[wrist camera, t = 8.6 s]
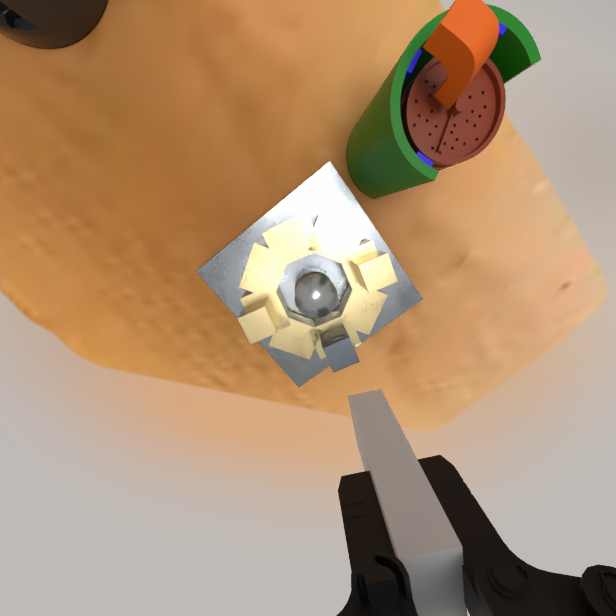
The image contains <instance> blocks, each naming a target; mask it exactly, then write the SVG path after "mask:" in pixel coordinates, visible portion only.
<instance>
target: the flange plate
mask: <svg viewBox="0 0 616 616" xmlns="http://www.w3.org/2000/svg"><path fill="white" fill-rule="evenodd" d="M306 213H307V214H308V216H309V219H310V221H311V223H312V226H313V225H314V222H315V220H316V217H317V215H318V214H319V213H321V214H324V215H326V216H328V217H331V218H333V219H336V220H338V221H340V222H343V223H345V224H348V225H350V226H352V227H355V228H357V229H359V230H362V231H364V234H363V236H362V239H361V241H363V240H366V239H368V240H373V242H374V245H375V248H376V250H379V251H382V252H386V253H388V255H389V258H390V261H391V264H392V267H393V269H394V272H395V275H396V278H397V281H398V282H395V283H393V284H391V285H388V286H386V287H384V288H381V289H380V290H382V291H383V292H385V293H386V294H387V295H388V296H387V298H386V300H385V302H384V304H383V306H382V308H381V311H380V313H379V315H378V317H377V319H376V321H375V323H374V325H373V328H372V330H371V332H370V334H369V335H368V334H365V333H362V332H359V331H357V330H356V332H357V334H358V337H359V339H360V342H361V343H359V344H356V345H354V346H353V347H354V348H355V347H357V346H359V345H360V344H362V342H363V341H365V340H366V339H368V338H369V337H370V336H372V335H373V334H375V333H376V332H377V331H379V330H380V329H382V328H383V327H384V326H386V325H387V324H389V323H390V322H391V321H393V320H394V319H396V318H397V317H398V316H400V315H401V314H403V313H404V312H406V311H407V310H408V309H410V308H411V307H413V306H414V305H415V304H417V303H418V302H420V301H421V300H422V299H423V298H422V296H421V295H420V294H419V292H418V291H417V289H416V288H415V286H414V285H413V283H412V282H411V280H410V279H409V277H408V276H407V274H406V273H405V271H404V270H403V268H402V267H401V265H400V264H399V262H398V261H397V259H396V258H395V257H394V255H393V254H392V252H391V251H390V249H389V248H388V246H387V245H386V243H385V242H384V240H383V239H382V237H381V236H380V234H379V233H378V231H377V230H376V228H375V227H374V225H373V224H372V223H371V221H370V220H369V218H368V217H367V215H366V214H365V212H364V211H363V209H362V208H361V206H360V205H359V203H358V202H357V200H356V199H355V197H354V196H353V194H352V193H351V191H350V190H349V189H348V187H347V186H346V184H345V183H344V181H343V180H342V178H341V177H340V175H339V174H338V172H337V171H336V169H335V168H334V166H333V165H332V163H331V162H330V161H329V162H328V163H327V164H326V165H324V166H323V167H322V168H321V169H320V170H318V171H317V172H316V173H315V174H314V175H312V176H311V177H310V178H309V179H307V180H306V181H305V182H304V183H303V184H301V185H300V186H299V187H298V188H297V189H295V190H294V191H293V192H292V193H290V194H289V195H288V196H287V197H286V198H284V199H283V200H282V201H281V202H280V203H278V204H277V205H276V206H275V207H274V208H272V209H271V210H270V211H269V212H267V213H266V214H265V215H264V216H263V217H261V218H260V219H259V220H258V221H257V222H255V223H254V224H253V225H252V226H250V227H249V228H248V229H247V230H246V231H244V232H243V233H242V234H241V235H240V236H238V237H237V238H236V239H235V240H233V241H232V242H231V243H230V244H229V245H227V246H226V247H225V248H224V249H223V250H221V251H220V252H219V253H218V254H216V255H215V256H214V257H213V258H212V259H210V260H209V261H208V262H207V263H206V264H204V265H203V266H202V267H201V268H200V269H198V270H197V271H196V272H197V273H198V274H199V275H200V276H201V277H202V279H203V280H204V281H205V282H206V283H207V284H208V285H209V287H210V288H211V289H212V290H213V291H214V292H215V293H216V294H217V296H218V297H219V298H220V299H221V300H222V301H223V302H224V303H225V305H226V306H227V307H228V308H229V309H230V310H231V311H232V312H233V314H234V315H235V316H236V317H237V318H238V317H239V315H240V314H241V312H242V310H243V309H244V306H243V304H242V302H241V300H240V298H241V297H242V296H243V294H244V293H246V292H248V290H245V289H242V288H239V286H240V283H241V280H242V277H243V274H244V271H245V268H246V265H247V262H248V259H249V256H250V253H251V250H252V247H253V245H254V243H255V242H257V241H258V242H261V243H263V244H266V245H267V242H266V240H265V238H264V236H263V234H262V233H265V232H267V231H269V229H271V228H273V227H275V226H277V225H280V224H282V223H284V222H286V221H288V220H291V219H293V218H295V217H297V216H298V217H300V216H302V215H304V214H306ZM361 241H360V242H361ZM347 287H348V284H347V281H346V279H345V276H344V274H343V271H342V269H341V266H340V264H339V262H337V261H335V260H332V259H330V258H327V257H325V256H322V255H320V254H317V253H315V252H313V253H311V254H309V255H307V256H304V257H302V258H300V259H298V260H295V261H293V262H291V263H289V264H286V266H285V269H284V272H283V274H282V277H281V280H280V282H279V285H278V289H279V291H280V293H281V295H282V297H283V300H284V302H285V304H286V306H287V308H288V310H289V311H291V312H294V313H296V314H299V315H302V316H305V317H307V318H310V319H313V320H314V319H316V318H322V317H325V316H327V315H328V314H330V313H331V312H333V311H335V310H337V309H338V307H339V305H340V303H341V300H342V298H343V296H344V294H345V291H346V289H347ZM270 338H271V336H269V337H267V338H264V339H262V340H260V341H258V342H259V343H260V344H261V345H262V346H263V347H264V349H265V350H266V351H267V352H268V353H269V354H270V355H271V356H272V358H273V359H274V360H275V361H276V362H277V363H278V364H279V365H280V367H281V368H282V369H283V370H284V371H285V372H286V373H287V374H288V376H289V377H290V378H291V379H292V380H293V381H294V382H295V384H296V385H297V386H298V387H300V386H301V385H303V384H304V383H306V382H307V381H308V380H310V379H311V378H313V377H314V376H315V375H317V374H318V373H320V372H321V371H322V370H324V369H325V368H327V367H328V366H330V364H329V362H328V359H327V357H325V358H323V359H320V357H319V354H318V352H317V350H316V348H315V349H314V351H313V353H312V356H311V358H310V360H309V359H306V358H303V357H301V356H298V355H295V354H292V353H289V352H286V351H283V350H280V349H277V348H274V347H272V346H269V342H270Z"/></svg>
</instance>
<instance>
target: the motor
mask: <svg viewBox="0 0 616 616" xmlns="http://www.w3.org/2000/svg"><path fill="white" fill-rule="evenodd" d="M539 60H541V57H540V54H539V51H538V48H537V46H536V43H535V42H534V40H533V37H532V36H531V34H530V33H529V31H528V30H527V28H526V27H525V26H524V25H523V24H522V23H521V22H520V21H519V20H518V19H517V18H516V17H515V16H513V15H512V14H510V13H509V12H507V11H505V10H503V9H501V8H499V7H496V6H492V5H487V4H485V3H484V2H482V1H481V0H456V1H455V2H454V3H453V5H452V6H451V8H450V9H449V10H447V11H445V12H443V13H441V14H440V15H438V16H436V17H435V18H433V19H432V20H431V21H430V22H428V23H427V24H426V25H425V26H424V27H423V28H422V29H421V30H420V31H419V32H418V33H417V34H416V35H415V37H414V38H413V39H412V41H411V42H410V43H409V45H408V46H407V48H406V49H405V51H404V53H403V54H402V56H401V57H400V59H399V60H398V62H397V63H396V65H395V66H394V68H393V69H392V71H391V72H390V74H389V75H388V77H387V78H386V80H385V81H384V83H383V85H382V86H381V88H380V89H379V91H378V92H377V94H376V95H375V97H374V98H373V100H372V101H371V103H370V104H369V106H368V107H367V109H366V110H365V112H364V114H363V115H362V117H361V118H360V120H359V121H358V123H357V124H356V126H355V127H354V129H353V131H352V133H351V135H350V138H349V141H348V146H347V166H348V170H349V173H350V176H351V178H352V180H353V182H354V183H355V185H356V186H357V187H358V188H359V189H360V190H361V191H362V192H363V193H364V194H366V195H367V196H369V197H371V198H373V199H375V198H378V197H381V196H385V195H388V194H391V193H395V192H398V191H401V190H404V189H408V188H411V187H414V186H418V185H421V184H424V183H427V182H431V181H434V180H435V178H436V176H437V174H438V172H439V170H441V169H444V168H447V167H450V166H452V165H455V164H458V163H461V162H464V161H466V160H469V159H471V158H473V157H474V156H476V155H477V154H479V153H480V152H481V151H483V150H484V149H485V148H486V147H487V146H488V144H489V143H490V142H491V141H492V139H493V138H494V136H495V135H496V133H497V131H498V129H499V127H500V125H501V122H502V119H503V115H504V110H505V88H504V84H505V83H506V82H508V81H509V80H511V79H512V78H514V77H515V76H517V75H518V74H520V73H521V72H523V71H524V70H526V69H528V68H529V67H530V66H532V65H534V64H535V63H536V62H538V61H539Z"/></svg>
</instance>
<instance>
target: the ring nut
mask: <svg viewBox="0 0 616 616" xmlns="http://www.w3.org/2000/svg"><path fill="white" fill-rule="evenodd" d="M262 234H263V236H264V238H265V240H266V242H267V245H266V244H263V243H261V242H258V241H257V242H255V243H254V245H253V247H252V250H251V253H250V256H249V259H248V262H247V265H246V268H245V271H244V274H243V277H242V280H241V283H240V286H239V288H242V289H245V290H248V292H246V293H244V294H243V296H242V297H241V298H240V300H241V302H242V304H243V306H244V309H243V310H242V312H241V314H240V315H239V317H238V318H237V319H238V321H239V323H240V325H241V327H242V328H243V330H244V332H245V334H246V336H247V338H248V340H249V342H250V344H252V343H255V342H257V341H260V340H262V339H264V338H267V337H269V336H271V338H270V342H269V346H272V347H274V348H277V349H280V350H283V351H286V352H289V353H292V354H295V355H298V356H301V357H303V358H306V359H309V360H310V358H311V356H312V353H313V351H314V349H315V348H316V350H317V352H318V354H319V357H320V359H323V358H325V357H327V359H328V362H329V364H330V366H331V368H332V370H333V372H336V371H338V370H341V369H343V368H346V367H348V366H350V365H353V364H355V363H358V362H360V361H359V359H358V357H357V354H356V352H355V349H354V347H353V346H354V345H356V344H359V343H361V342H360V339H359V337H358V334H357V332H356V330H357V331H359V332H362V333H365V334H368V335H369V334H370V332H371V330H372V328H373V325H374V323H375V321H376V319H377V317H378V315H379V313H380V311H381V308H382V306H383V304H384V302H385V300H386V298H387V296H388V295H387V294H386V293H385V292H383V291H382V290H380V289H381V288H384V287H386V286H388V285H391V284H393V283H395V282H398V281H397V278H396V275H395V272H394V269H393V267H392V264H391V261H390V258H389V255H388V253H386V252H382V251H379V250H376V248H375V245H374V242H373V240H368V239H366V240H363V241H361V239H362V236H363V234H364V231H362V230H359V229H357V228H355V227H352V226H350V225H348V224H345V223H343V222H340V221H338V220H336V219H333V218H331V217H328V216H326V215H324V214H321V213H319V214H318V215H317V217H316V220H315V222H314V225H313V226H312V223H311V221H310V219H309V216H308V214H307V213H306V214H304V215H302V216H300V217H298V216H297V217H295V218H293V219H291V220H288V221H286V222H284V223H282V224H280V225H277V226H275V227H273V228H271V229H269V231H267V232H265V233H262ZM360 241H361V242H360ZM313 252H315V253H317V254H320V255H322V256H325V257H327V258H330V259H332V260H335V261H337V262H339V264H340V266H341V269H342V271H343V274H344V276H345V279H346V281H347V284H348V287H347V289H346V291H345V294H344V296H343V298H342V300H341V303H340V305H339V307H338V309H337V310H335V311H333V312H331V313H330V314H328V315H327V316H325V317H322V318H316V319H314V320H313V319H310V318H307V317H305V316H302V315H299V314H296V313H294V312H291V311H289V310H288V308H287V306H286V304H285V302H284V300H283V297H282V295H281V293H280V291H279V289H278V285H279V282H280V280H281V277H282V274H283V272H284V269H285V266H286V264H289V263H291V262H293V261H295V260H298V259H300V258H302V257H304V256H307V255H309V254H311V253H313Z"/></svg>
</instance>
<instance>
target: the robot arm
mask: <svg viewBox="0 0 616 616" xmlns="http://www.w3.org/2000/svg"><path fill="white" fill-rule="evenodd" d="M106 2H107V0H0V32H1V33H3V34H5V35H6V36H8V37H10V38H12V39H14V40H16V41H18V42H20V43H23V44H26V45H29V46H33V47H39V48H58V47H63V46H66V45H69V44H72V43H74V42H76V41H78V40H79V39H81V38H82V37H84V36H85V35H86V34H87V33H88V32H89V31H90V30H91V29H92V28H93V27H94V26H95V24H96V23H97V22H98V20H99V18H100V17H101V15H102V13H103V11H104V8H105V6H106ZM348 399H349V404H350V409H351V414H352V419H353V424H354V429H355V434H356V439H357V445H358V448H359V452H360V455H361V459H362V462H363V466H364V469H365V472H360V473H355V474H350V475H346V476H342V477H341V481H340V485H339V489H338V493H339V500H340V505H341V511H342V517H343V523H344V529H345V535H346V541H347V547H348V553H349V559H350V565H351V571H352V574H351V588H352V590H351V594H350V597H349V600H348V602H347V604H346V605H345V607H344V608H343V610H342V611H341V612H340V613H339V614H338V615H337V616H467V609H468V612H469V614H470V616H616V568H614V567H610V566H604V565H595V566H591V567H588V568H587V569H586V570H585V572H584V573H583V574H582V578H581V577H575V576H569V575H563V574H557V573H551V572H547V571H543V570H539V569H537V568H535V567H533V566H531V565H529V564H527V563H525V562H524V561H522V560H521V559H520V558H518V557H517V556H516V555H515V554H514V553H513V552H512V551H510V550H509V549H508V547H507V546H506V545H505V543H504V542H503V541H502V539H501V537H500V536H499V534H498V533H497V531H496V530H495V528H494V527H493V525H492V524H491V522H490V521H489V519H488V518H487V516H486V515H485V513H484V511H483V510H482V509H481V507H480V505H479V504H478V502H477V501H476V499H475V498H474V496H473V495H472V494H471V492H470V490H469V488H468V487H467V486H466V484H465V483H464V482H463V479H462V478H461V476H460V475H459V473H458V471H457V470H456V468H455V467H454V466H453V465H452V464H451V463H450V462H448V461H447V460H446V459H445V458H443V457H442V456H441V455H437V456H432V457H428V458H423V459H418V460H417V458H416V456H415V454H414V452H413V451H412V448H411V446H410V444H409V442H408V441H407V439H406V437H405V435H404V433H403V431H402V429H401V427H400V425H399V423H398V421H397V419H396V417H395V415H394V413H393V411H392V410H391V408H390V406H389V404H388V402H387V400H386V398H385V396H384V394H383V392H382V390H381V389H380V390H375V391H370V392H366V393H361V394H356V395H351V396H348Z"/></svg>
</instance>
